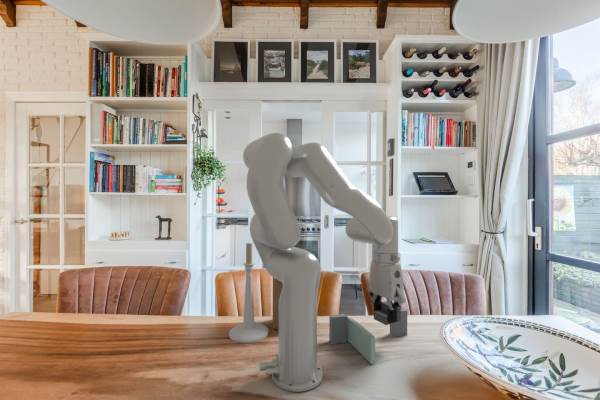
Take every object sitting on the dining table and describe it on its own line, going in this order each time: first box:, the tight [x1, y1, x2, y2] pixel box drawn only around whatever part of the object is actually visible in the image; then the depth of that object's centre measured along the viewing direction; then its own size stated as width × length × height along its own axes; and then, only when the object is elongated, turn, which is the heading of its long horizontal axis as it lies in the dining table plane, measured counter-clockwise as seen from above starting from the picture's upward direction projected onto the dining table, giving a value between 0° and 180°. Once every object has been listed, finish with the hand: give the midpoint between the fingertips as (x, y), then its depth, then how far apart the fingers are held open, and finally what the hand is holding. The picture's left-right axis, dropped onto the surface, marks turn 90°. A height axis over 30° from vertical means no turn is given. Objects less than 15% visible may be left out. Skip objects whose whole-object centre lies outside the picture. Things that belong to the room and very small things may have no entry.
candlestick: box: [228, 242, 269, 344], centre depth 98 cm, size 13×13×30 cm
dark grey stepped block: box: [373, 300, 402, 326], centre depth 90 cm, size 6×5×4 cm
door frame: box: [328, 307, 408, 345], centre depth 96 cm, size 26×2×8 cm, turn 104°
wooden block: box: [272, 277, 283, 330], centre depth 106 cm, size 10×10×20 cm
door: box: [346, 315, 376, 365], centre depth 87 cm, size 15×1×7 cm, turn 17°
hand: (385, 318), depth 90 cm, fingers closed on dark grey stepped block, 5 cm apart
